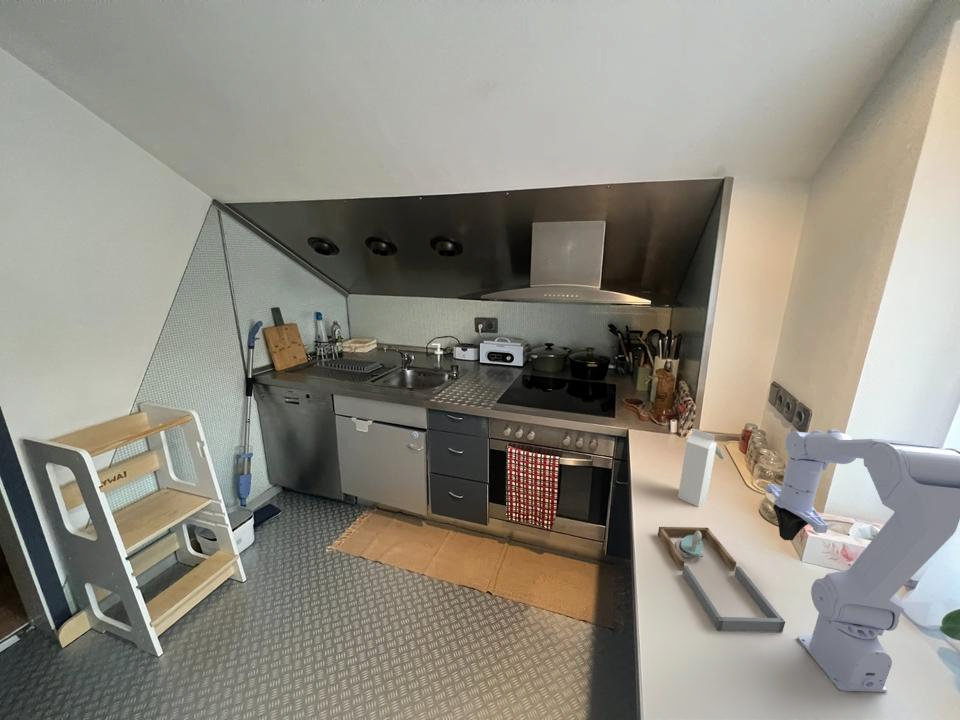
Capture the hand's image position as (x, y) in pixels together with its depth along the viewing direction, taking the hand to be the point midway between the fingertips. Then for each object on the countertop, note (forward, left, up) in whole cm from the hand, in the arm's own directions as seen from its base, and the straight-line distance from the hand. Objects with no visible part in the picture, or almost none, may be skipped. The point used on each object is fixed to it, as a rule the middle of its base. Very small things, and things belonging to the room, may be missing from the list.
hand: (786, 538), depth 86 cm
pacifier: (+7, +17, -10) cm, 21 cm away
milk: (+28, +5, -10) cm, 30 cm away
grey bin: (-8, +16, -9) cm, 20 cm away
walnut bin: (+6, +16, -9) cm, 20 cm away
